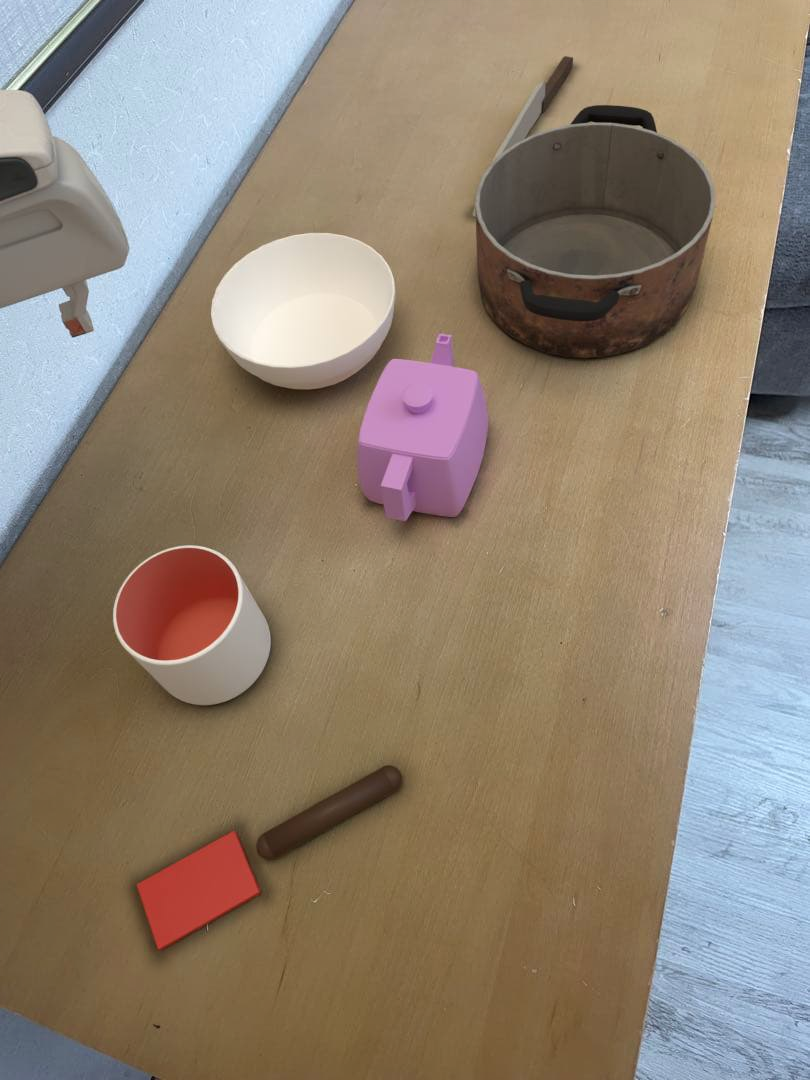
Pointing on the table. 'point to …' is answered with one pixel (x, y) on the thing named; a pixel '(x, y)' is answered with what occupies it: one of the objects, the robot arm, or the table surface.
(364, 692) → the table surface
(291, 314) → the bowl
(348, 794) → the spatula
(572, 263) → the saucepan
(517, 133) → the kitchen knife
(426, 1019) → the table surface
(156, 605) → the cup
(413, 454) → the teapot
